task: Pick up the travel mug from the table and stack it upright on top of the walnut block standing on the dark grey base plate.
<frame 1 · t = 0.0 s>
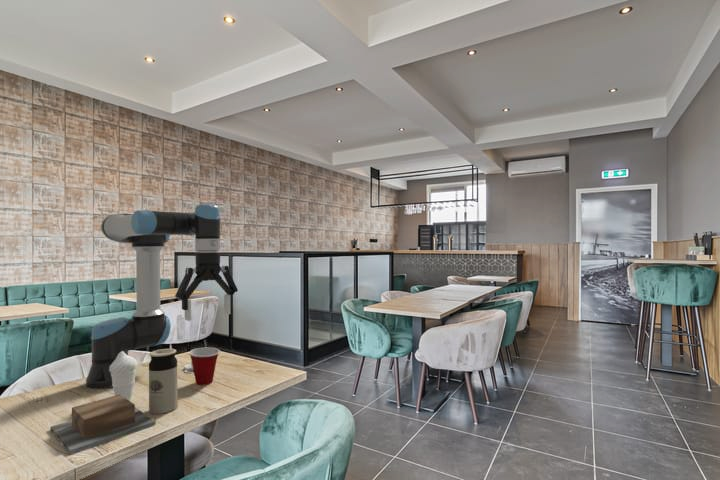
hand: (208, 317, 124), 28 cm above the table, tool pointing down, fingers open, 13 cm apart
travel mug: (163, 409, 119), on the table
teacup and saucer: (197, 369, 160), on the table
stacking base: (103, 427, 107), on the table
plastic cup: (205, 383, 142), on the table
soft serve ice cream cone: (123, 399, 127), on the table
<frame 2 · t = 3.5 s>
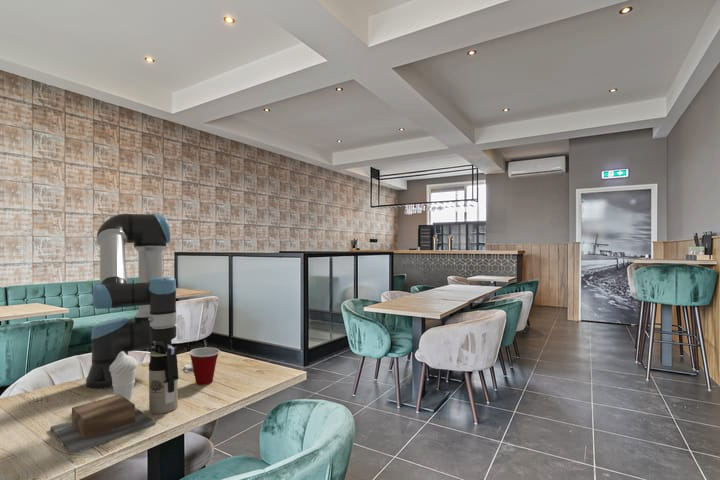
hand: (163, 398, 119), 3 cm above the table, tool pointing down, fingers closed on travel mug, 8 cm apart
travel mug: (163, 409, 119), on the table, touching gripper
everything else where it was.
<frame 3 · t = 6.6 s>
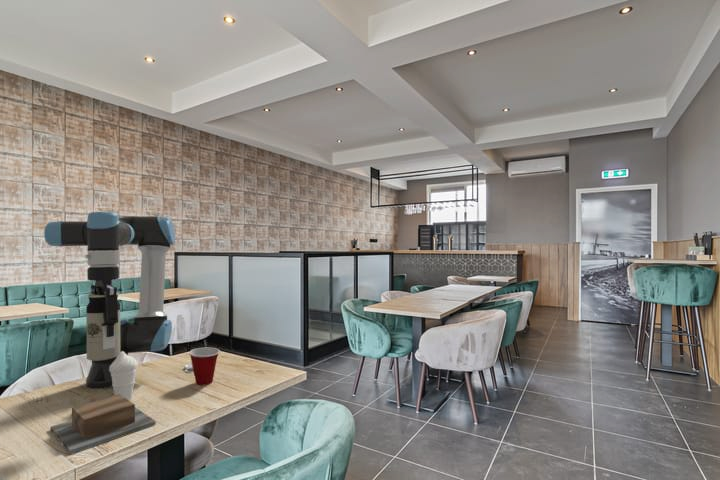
hand: (103, 345, 108), 23 cm above the table, tool pointing down, fingers closed on travel mug, 8 cm apart
travel mug: (103, 357, 108), point 20 cm above the table, touching gripper
everything else where it was.
when the fingers open (11 cm above the table, at t = 9.7 s): travel mug drops 1 cm, resting on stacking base.
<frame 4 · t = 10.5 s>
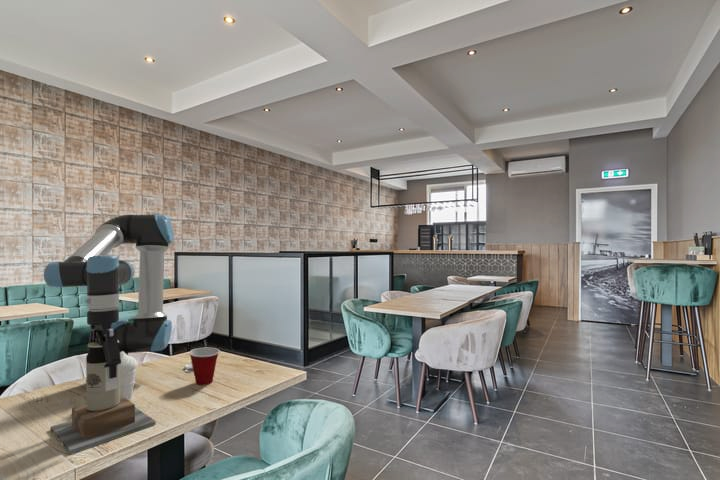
hand: (103, 384, 108), 12 cm above the table, tool pointing down, fingers open, 13 cm apart
travel mug: (103, 406, 108), point 6 cm above the table, touching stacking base
everything else where it was.
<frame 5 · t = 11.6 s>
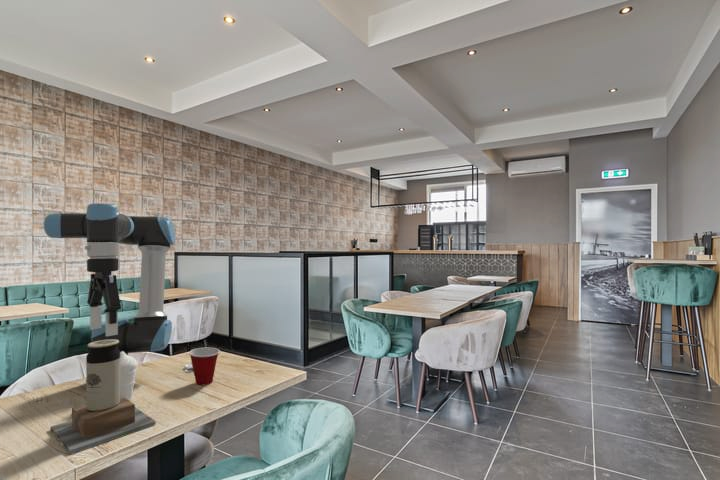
hand: (103, 332, 108), 27 cm above the table, tool pointing down, fingers open, 13 cm apart
nothing on the table moved.
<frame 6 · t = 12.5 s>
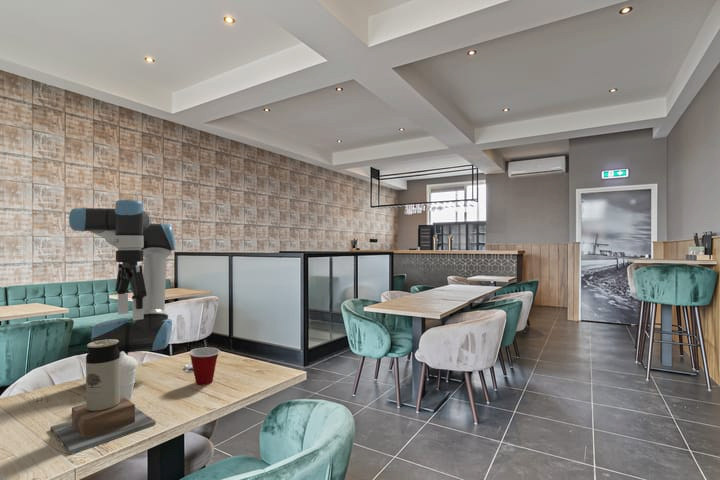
hand: (130, 316, 119), 29 cm above the table, tool pointing down, fingers open, 13 cm apart
nothing on the table moved.
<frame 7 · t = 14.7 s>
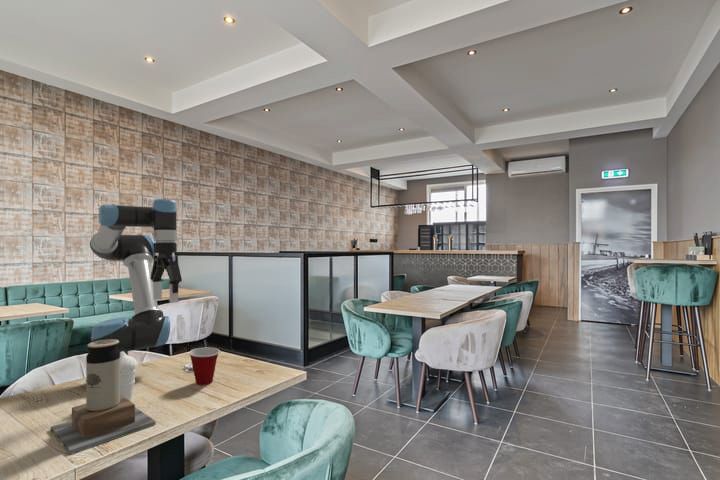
hand: (165, 300, 137), 32 cm above the table, tool pointing down, fingers open, 13 cm apart
nothing on the table moved.
at the end: travel mug inside the target area on the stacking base (0.1 cm from its centre), point 5.8 cm above the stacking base's base; travel mug tilted 0°; the gripper is holding nothing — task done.
